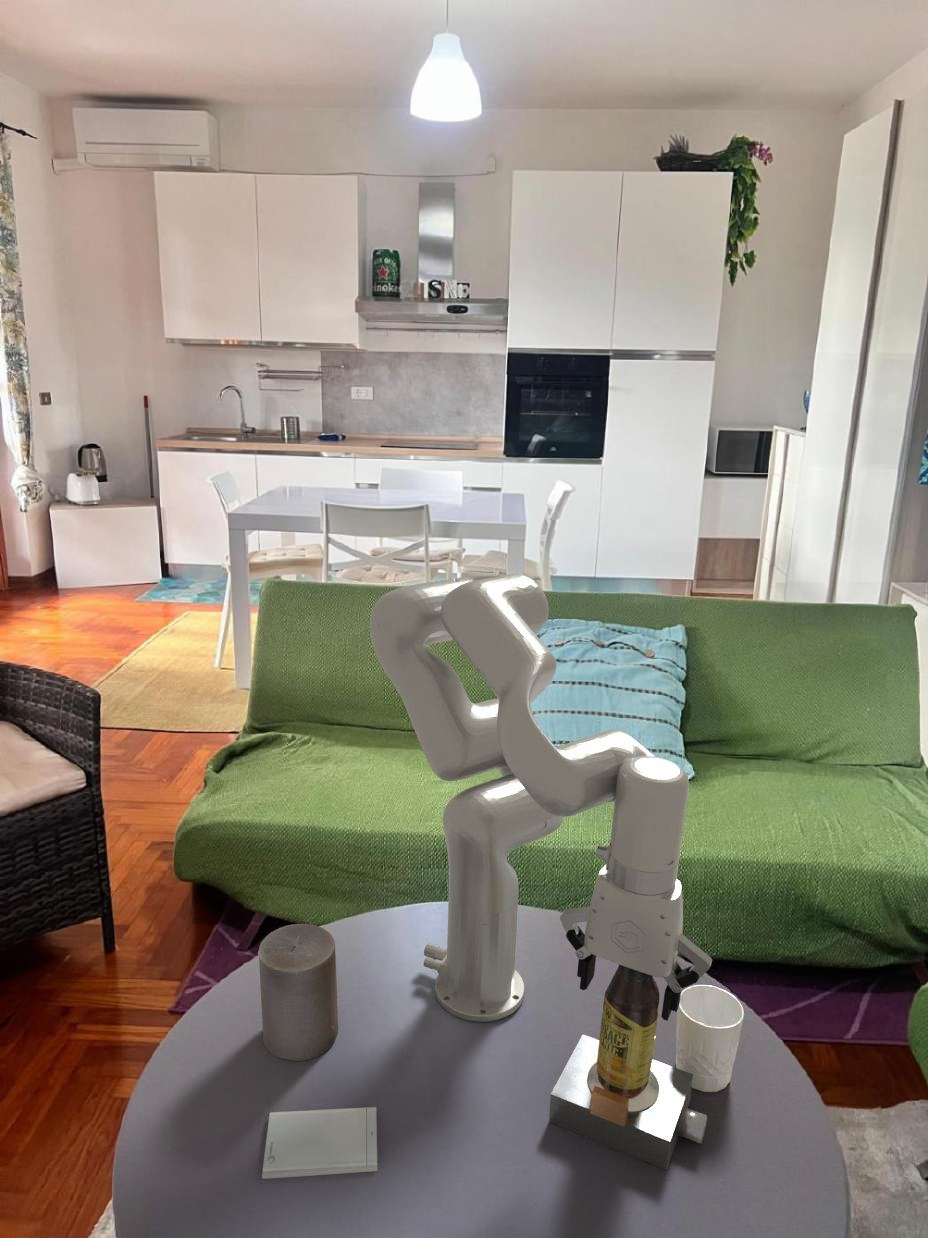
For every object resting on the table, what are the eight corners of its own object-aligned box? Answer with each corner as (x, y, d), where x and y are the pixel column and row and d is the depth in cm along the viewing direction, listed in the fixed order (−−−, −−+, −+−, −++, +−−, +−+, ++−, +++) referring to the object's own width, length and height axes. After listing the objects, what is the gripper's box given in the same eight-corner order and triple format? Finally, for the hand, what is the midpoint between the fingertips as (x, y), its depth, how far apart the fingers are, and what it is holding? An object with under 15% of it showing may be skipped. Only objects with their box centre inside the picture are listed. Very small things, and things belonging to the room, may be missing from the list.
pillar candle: (319, 1000, 125) (315, 906, 121) (350, 1044, 118) (348, 944, 113) (251, 1027, 120) (245, 929, 116) (280, 1075, 112) (274, 972, 108)
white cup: (737, 1102, 110) (746, 1033, 108) (671, 1090, 112) (678, 1022, 109) (732, 1055, 118) (741, 990, 115) (670, 1045, 119) (677, 980, 116)
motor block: (547, 1125, 106) (550, 1075, 104) (581, 1058, 117) (585, 1012, 115) (689, 1184, 99) (696, 1132, 97) (713, 1107, 109) (719, 1059, 108)
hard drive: (261, 1171, 98) (377, 1163, 99) (269, 1110, 106) (376, 1104, 107) (262, 1183, 98) (377, 1175, 100) (269, 1122, 106) (376, 1115, 108)
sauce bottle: (585, 1070, 109) (597, 925, 104) (629, 1056, 111) (643, 914, 106) (615, 1110, 103) (629, 959, 98) (661, 1094, 106) (677, 947, 100)
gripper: (556, 861, 100) (544, 991, 105) (714, 910, 93) (693, 1047, 98) (579, 831, 106) (567, 954, 111) (729, 874, 99) (708, 1004, 104)
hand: (626, 997), depth 105 cm, fingers open, 9 cm apart
